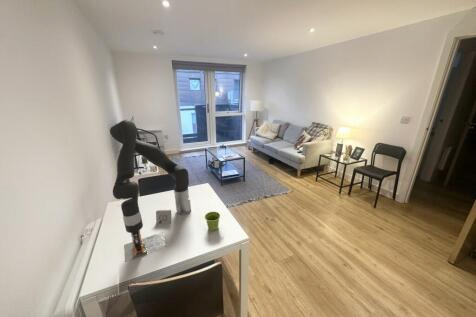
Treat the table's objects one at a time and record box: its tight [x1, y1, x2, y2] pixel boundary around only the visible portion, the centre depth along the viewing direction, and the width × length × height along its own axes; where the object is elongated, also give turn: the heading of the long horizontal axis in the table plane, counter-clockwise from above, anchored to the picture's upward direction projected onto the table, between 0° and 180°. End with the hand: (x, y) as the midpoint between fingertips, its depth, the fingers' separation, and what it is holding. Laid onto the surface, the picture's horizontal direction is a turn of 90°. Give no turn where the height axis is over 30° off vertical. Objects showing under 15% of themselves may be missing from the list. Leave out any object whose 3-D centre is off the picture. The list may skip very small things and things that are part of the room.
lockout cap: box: [131, 234, 144, 253], centre depth 101 cm, size 4×4×8 cm
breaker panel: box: [123, 232, 168, 263], centre depth 107 cm, size 20×13×3 cm, turn 120°
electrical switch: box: [155, 209, 172, 224], centre depth 126 cm, size 9×5×9 cm, turn 90°
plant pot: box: [204, 211, 221, 232], centre depth 121 cm, size 9×9×9 cm
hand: (138, 247), depth 102 cm, fingers closed on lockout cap, 4 cm apart
